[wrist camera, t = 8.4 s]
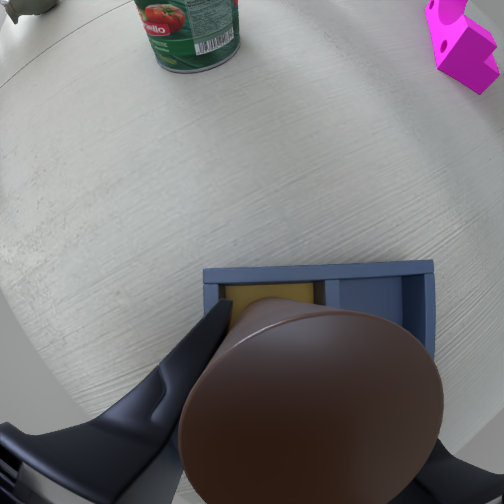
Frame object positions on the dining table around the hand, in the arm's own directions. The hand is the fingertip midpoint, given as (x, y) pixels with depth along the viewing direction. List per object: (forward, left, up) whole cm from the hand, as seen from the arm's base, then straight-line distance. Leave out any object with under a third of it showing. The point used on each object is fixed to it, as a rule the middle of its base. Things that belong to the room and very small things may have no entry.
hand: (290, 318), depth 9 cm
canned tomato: (+23, +6, -9) cm, 25 cm away
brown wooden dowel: (-1, 0, -7) cm, 7 cm away
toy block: (+29, -24, -9) cm, 39 cm away
